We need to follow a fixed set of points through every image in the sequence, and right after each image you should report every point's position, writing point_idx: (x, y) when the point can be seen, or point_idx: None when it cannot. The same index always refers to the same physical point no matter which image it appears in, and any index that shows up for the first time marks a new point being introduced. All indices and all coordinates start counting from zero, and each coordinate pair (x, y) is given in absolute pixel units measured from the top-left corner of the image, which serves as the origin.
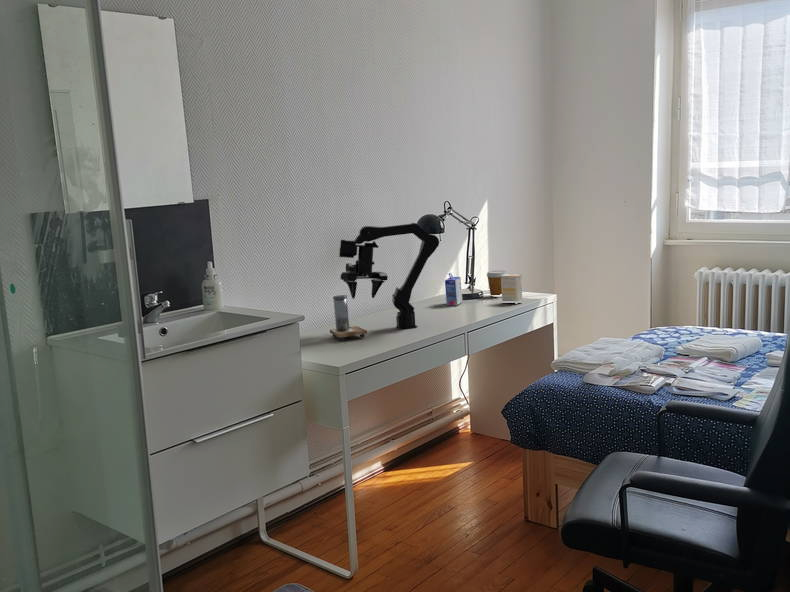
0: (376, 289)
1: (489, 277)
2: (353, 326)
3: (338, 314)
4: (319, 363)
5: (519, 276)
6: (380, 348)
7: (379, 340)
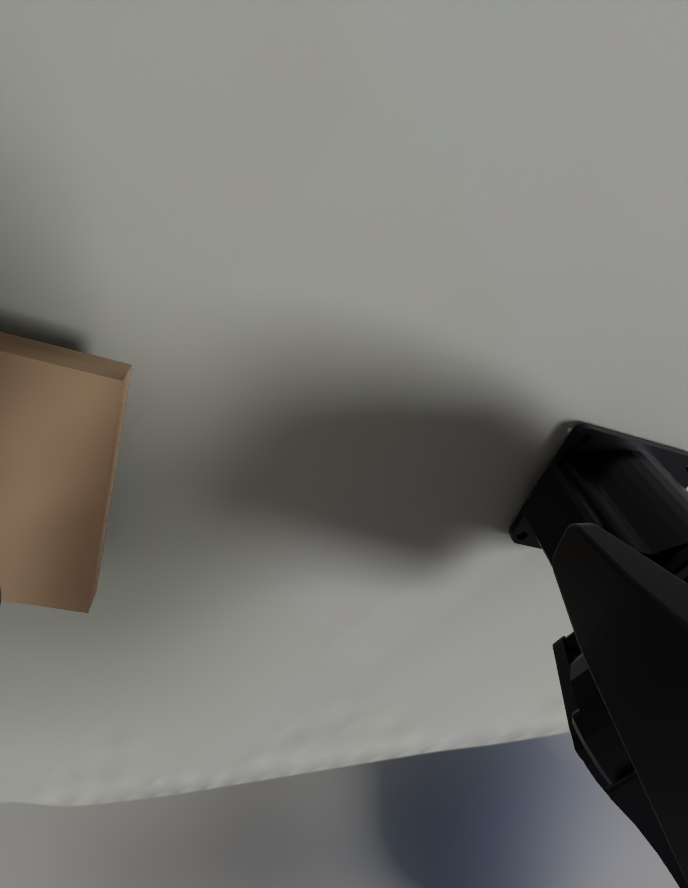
0: (660, 810)
1: None
2: (78, 372)
3: None
4: None
5: None
6: (27, 771)
7: (139, 653)
